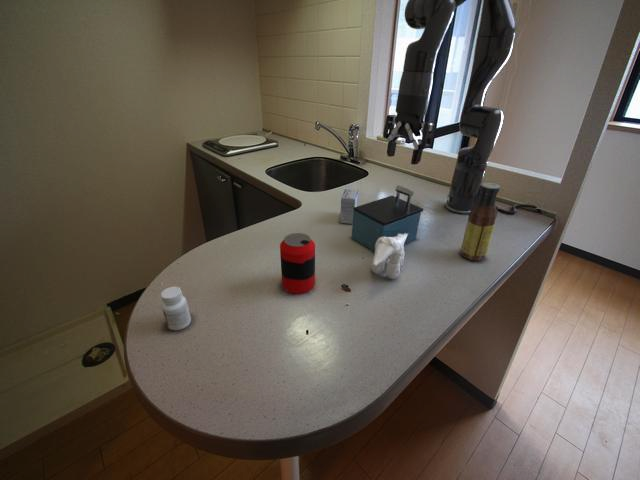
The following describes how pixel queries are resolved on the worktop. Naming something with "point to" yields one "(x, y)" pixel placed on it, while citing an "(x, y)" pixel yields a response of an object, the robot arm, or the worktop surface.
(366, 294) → the worktop surface
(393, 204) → the black box lid
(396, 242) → the dinosaur statue
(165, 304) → the pill bottle
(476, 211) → the sauce bottle
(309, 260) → the soda can
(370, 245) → the blue box
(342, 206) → the medicine box
